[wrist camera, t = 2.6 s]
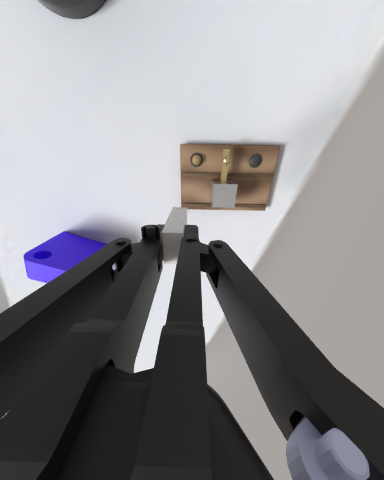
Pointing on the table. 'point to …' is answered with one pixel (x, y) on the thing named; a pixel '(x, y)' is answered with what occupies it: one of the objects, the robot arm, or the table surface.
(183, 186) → the wooden knob panel
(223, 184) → the slider with brass pointer
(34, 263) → the bracket
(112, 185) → the table surface
